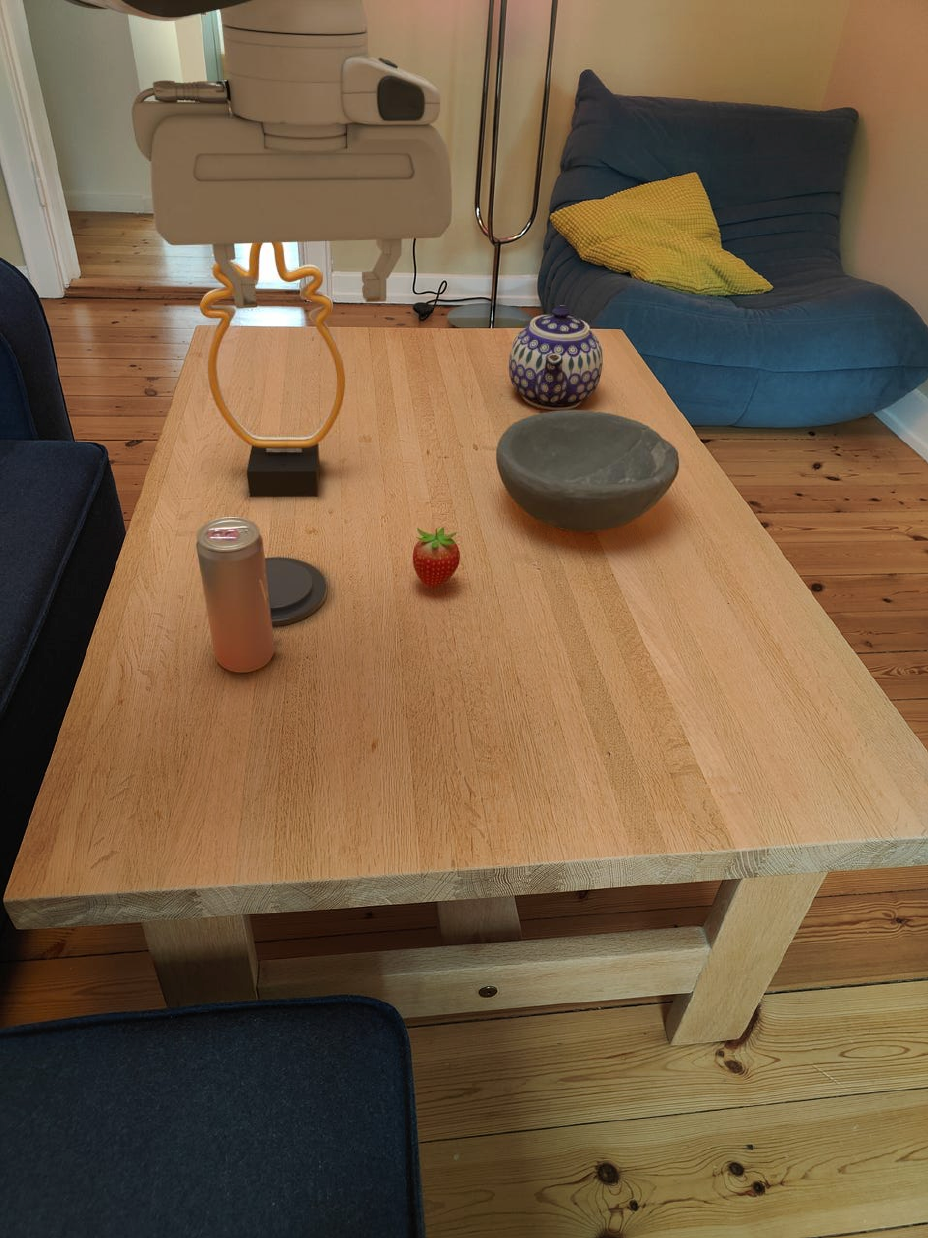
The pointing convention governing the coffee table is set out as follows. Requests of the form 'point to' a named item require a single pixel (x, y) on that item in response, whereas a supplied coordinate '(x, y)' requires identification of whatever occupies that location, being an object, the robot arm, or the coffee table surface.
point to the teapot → (555, 361)
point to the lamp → (276, 459)
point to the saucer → (293, 589)
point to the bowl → (585, 468)
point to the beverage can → (236, 593)
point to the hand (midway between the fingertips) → (311, 302)
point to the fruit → (435, 558)
